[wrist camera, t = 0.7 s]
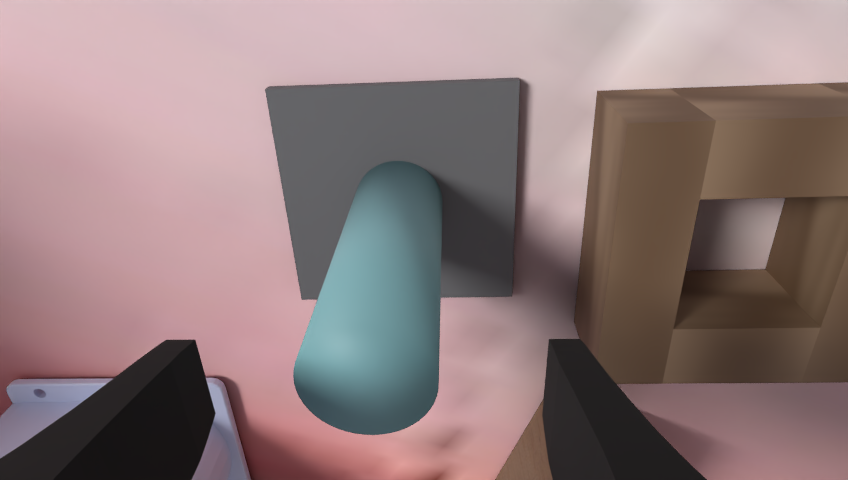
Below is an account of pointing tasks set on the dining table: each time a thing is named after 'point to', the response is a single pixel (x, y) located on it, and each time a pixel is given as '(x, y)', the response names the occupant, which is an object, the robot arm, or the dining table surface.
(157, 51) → the dining table surface
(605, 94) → the hole block
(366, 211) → the peg
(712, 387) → the dining table surface
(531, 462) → the wooden block
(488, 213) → the mat
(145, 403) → the robot arm
